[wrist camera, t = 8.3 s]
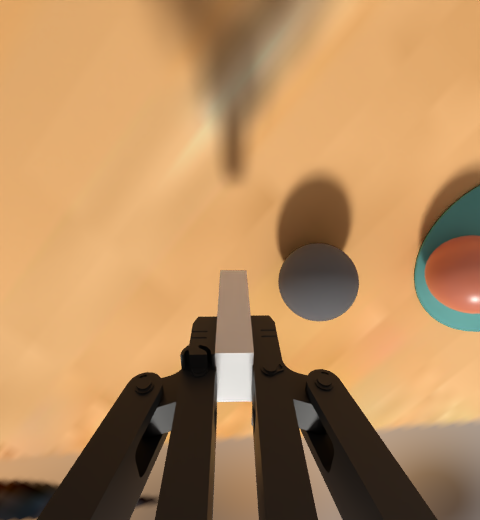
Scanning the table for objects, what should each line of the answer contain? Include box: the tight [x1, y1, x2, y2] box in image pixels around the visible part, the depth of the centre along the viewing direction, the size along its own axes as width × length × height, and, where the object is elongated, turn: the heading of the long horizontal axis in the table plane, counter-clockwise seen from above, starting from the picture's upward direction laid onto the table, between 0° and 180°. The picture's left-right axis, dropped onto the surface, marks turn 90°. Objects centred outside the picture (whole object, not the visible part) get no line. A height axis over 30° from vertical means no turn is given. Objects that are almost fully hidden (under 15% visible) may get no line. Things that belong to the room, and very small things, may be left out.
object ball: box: [425, 235, 480, 314], centre depth 22 cm, size 6×6×6 cm
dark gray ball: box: [279, 243, 359, 321], centre depth 22 cm, size 6×6×6 cm
